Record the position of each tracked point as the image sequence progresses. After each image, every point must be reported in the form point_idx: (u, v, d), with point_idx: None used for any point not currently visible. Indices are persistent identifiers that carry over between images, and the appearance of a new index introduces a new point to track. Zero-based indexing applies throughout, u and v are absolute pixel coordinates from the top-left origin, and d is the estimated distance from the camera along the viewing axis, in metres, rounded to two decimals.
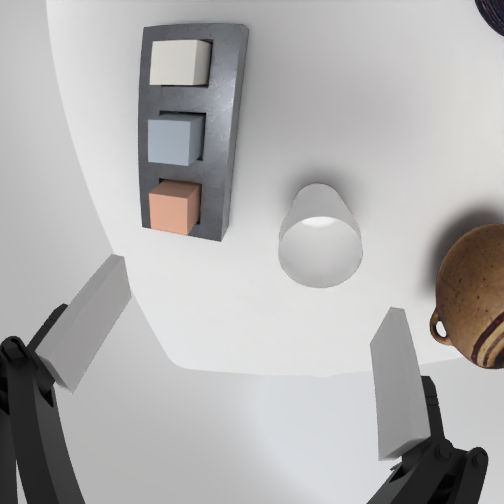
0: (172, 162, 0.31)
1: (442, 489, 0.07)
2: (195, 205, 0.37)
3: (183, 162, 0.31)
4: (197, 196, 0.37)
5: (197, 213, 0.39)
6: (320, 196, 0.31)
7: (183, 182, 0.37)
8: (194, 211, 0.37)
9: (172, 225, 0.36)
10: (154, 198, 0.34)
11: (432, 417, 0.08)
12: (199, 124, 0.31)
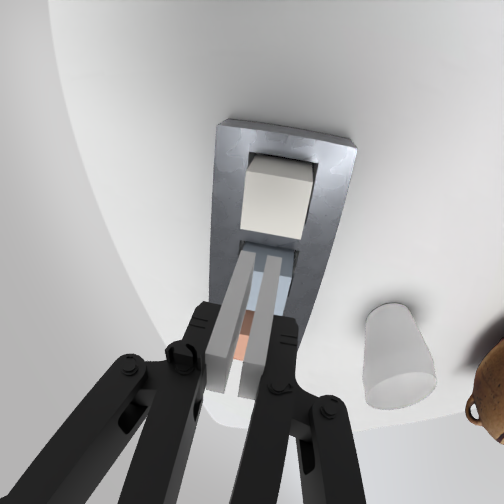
0: None
1: None
2: None
3: (277, 312, 0.29)
4: None
5: None
6: (405, 337, 0.29)
7: None
8: None
9: None
10: None
11: (284, 355, 0.11)
12: None
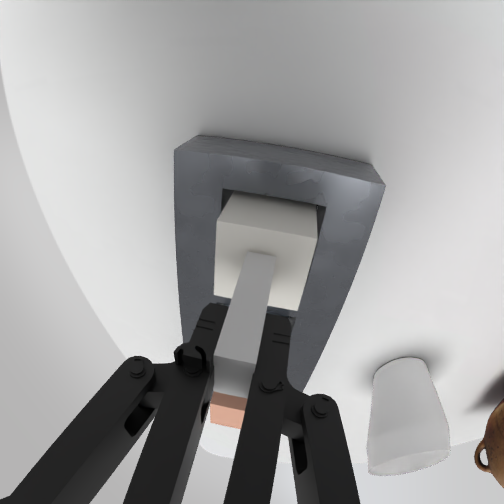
0: None
1: None
2: None
3: None
4: None
5: None
6: (420, 406, 0.22)
7: None
8: None
9: (240, 425, 0.26)
10: (218, 407, 0.24)
11: (276, 353, 0.11)
12: None
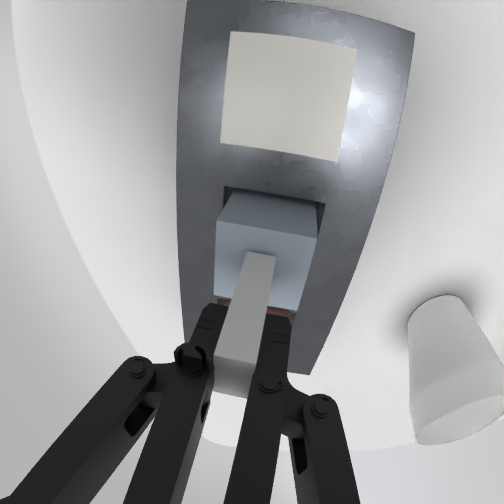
0: None
1: None
2: None
3: (288, 305, 0.17)
4: None
5: None
6: (474, 344, 0.17)
7: None
8: None
9: None
10: None
11: (276, 353, 0.11)
12: None
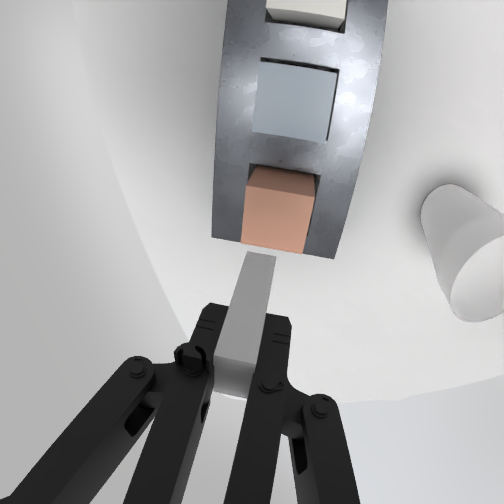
0: (297, 135, 0.19)
1: None
2: None
3: (317, 137, 0.18)
4: None
5: None
6: (484, 205, 0.19)
7: (287, 171, 0.25)
8: None
9: (280, 238, 0.23)
10: (255, 194, 0.21)
11: (276, 353, 0.11)
12: None
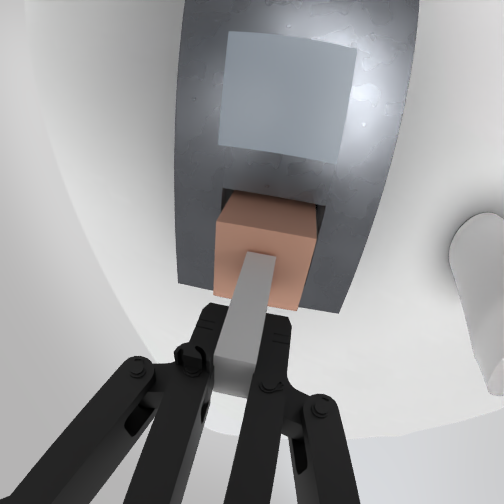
0: (292, 151, 0.12)
1: None
2: None
3: (324, 153, 0.11)
4: None
5: None
6: None
7: None
8: None
9: None
10: (229, 233, 0.15)
11: (276, 353, 0.11)
12: None
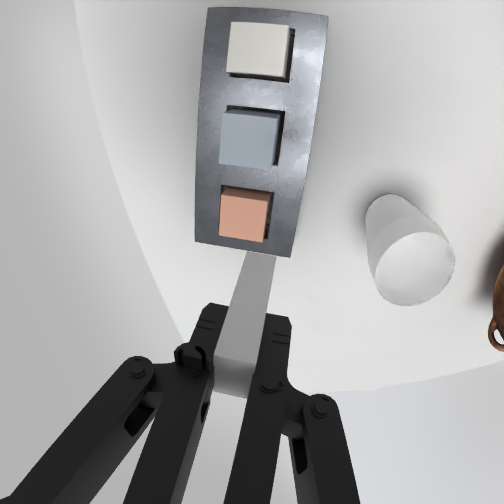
0: (250, 165, 0.27)
1: None
2: (268, 209, 0.35)
3: (265, 166, 0.27)
4: (269, 200, 0.35)
5: (267, 218, 0.36)
6: (409, 209, 0.27)
7: None
8: (267, 216, 0.35)
9: (246, 231, 0.33)
10: (227, 200, 0.32)
11: (276, 353, 0.11)
12: (278, 123, 0.28)
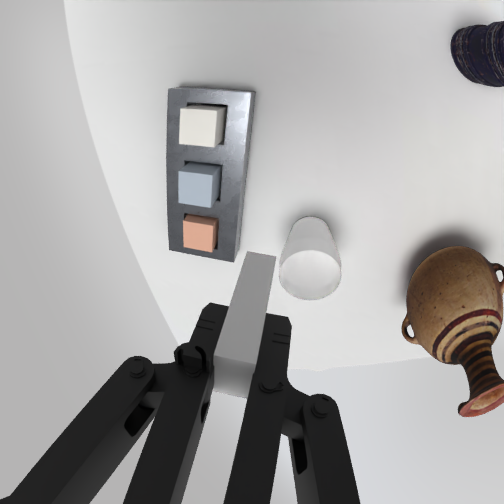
0: (198, 204, 0.42)
1: None
2: (217, 229, 0.50)
3: (207, 205, 0.42)
4: (218, 222, 0.50)
5: None
6: (310, 232, 0.42)
7: None
8: (216, 233, 0.50)
9: (200, 244, 0.48)
10: (187, 224, 0.47)
11: (276, 353, 0.11)
12: (218, 173, 0.42)
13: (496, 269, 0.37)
